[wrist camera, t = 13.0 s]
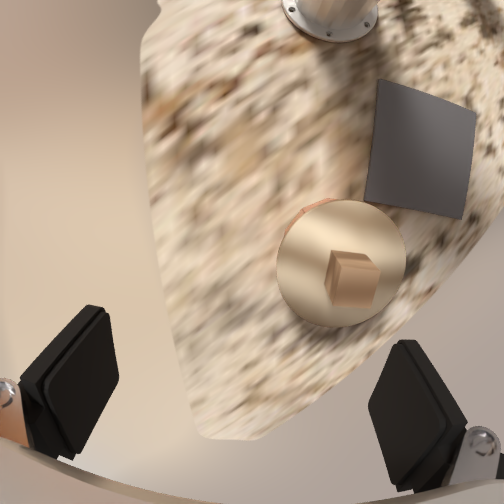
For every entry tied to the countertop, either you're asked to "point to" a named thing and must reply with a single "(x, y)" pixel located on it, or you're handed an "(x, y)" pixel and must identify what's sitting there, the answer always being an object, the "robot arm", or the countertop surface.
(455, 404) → the robot arm
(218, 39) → the countertop surface
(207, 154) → the countertop surface
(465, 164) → the mat
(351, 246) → the lid
